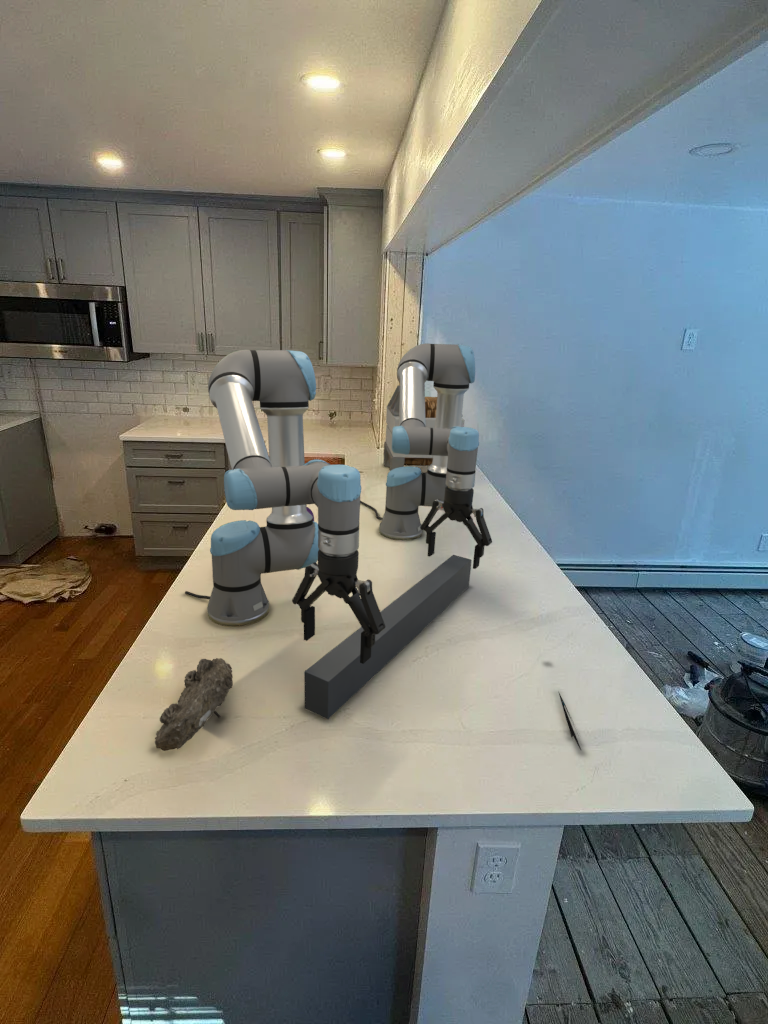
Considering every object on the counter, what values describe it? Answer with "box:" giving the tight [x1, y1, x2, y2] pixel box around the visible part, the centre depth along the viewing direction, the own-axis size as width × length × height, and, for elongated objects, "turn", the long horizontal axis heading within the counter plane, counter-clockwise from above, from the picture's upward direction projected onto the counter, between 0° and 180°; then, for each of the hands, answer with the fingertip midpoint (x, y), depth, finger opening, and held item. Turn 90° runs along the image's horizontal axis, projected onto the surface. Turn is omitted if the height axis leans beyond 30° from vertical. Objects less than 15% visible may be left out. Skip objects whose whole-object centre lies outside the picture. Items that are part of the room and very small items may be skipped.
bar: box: [303, 554, 473, 720], centre depth 136 cm, size 68×6×9 cm, turn 149°
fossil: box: [154, 657, 234, 752], centre depth 107 cm, size 22×10×15 cm
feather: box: [546, 662, 582, 751], centre depth 116 cm, size 2×28×2 cm
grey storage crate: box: [383, 384, 465, 472], centre depth 268 cm, size 34×33×41 cm
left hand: (336, 648), depth 112 cm, fingers open, 13 cm apart
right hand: (452, 561), depth 156 cm, fingers open, 13 cm apart
